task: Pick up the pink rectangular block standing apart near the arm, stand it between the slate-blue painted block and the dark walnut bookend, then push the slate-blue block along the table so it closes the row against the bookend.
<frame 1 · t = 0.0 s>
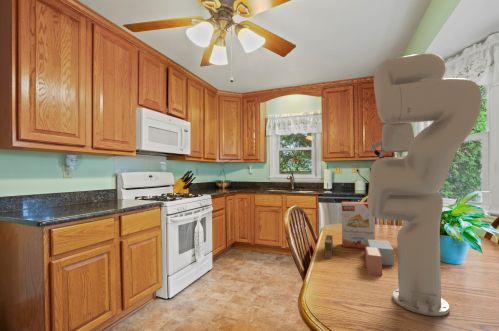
hand: (397, 167, 90), 37 cm above the table, tool pointing down, fingers open, 9 cm apart
slate block: (379, 251, 100), point 3 cm above the table, slide at 0.0 cm
skincare box: (419, 252, 109), on the table
cracker box: (358, 247, 117), on the table
pink rectangular block: (373, 269, 90), on the table
bookend: (329, 253, 107), on the table
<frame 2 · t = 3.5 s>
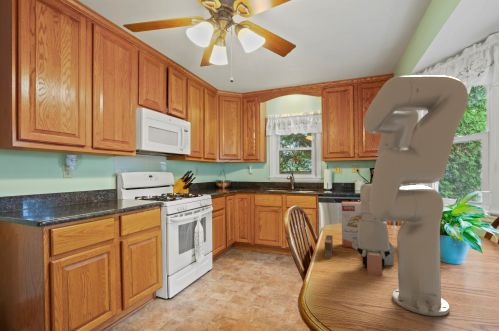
hand: (373, 267, 90), 1 cm above the table, tool pointing down, fingers closed on pink rectangular block, 4 cm apart
pink rectangular block: (373, 268, 90), on the table, touching gripper
everything else where it was.
when the fingers open (2 cm above the table, at t = 9.4 s): pink rectangular block drops 2 cm, on the table.
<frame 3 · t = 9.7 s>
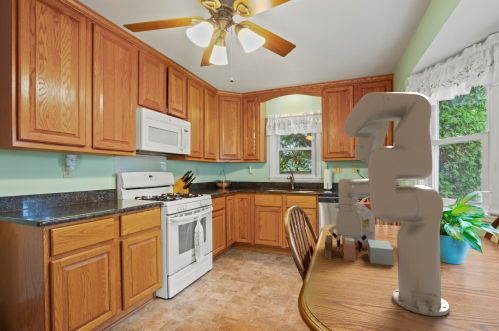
hand: (349, 249, 104), 3 cm above the table, tool pointing down, fingers open, 7 cm apart
pink rectangular block: (349, 256, 104), on the table
everything else where it was.
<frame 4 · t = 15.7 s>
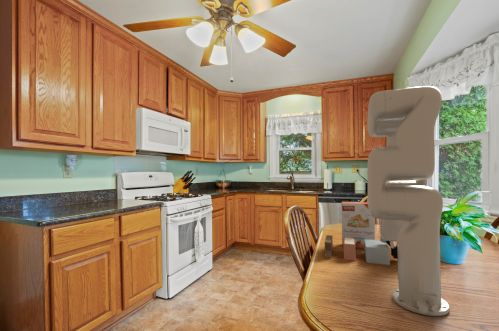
hand: (395, 257, 98), 1 cm above the table, tool pointing down, fingers closed
slate block: (376, 251, 101), point 3 cm above the table, slide at 1.4 cm, touching gripper
everything else where it was.
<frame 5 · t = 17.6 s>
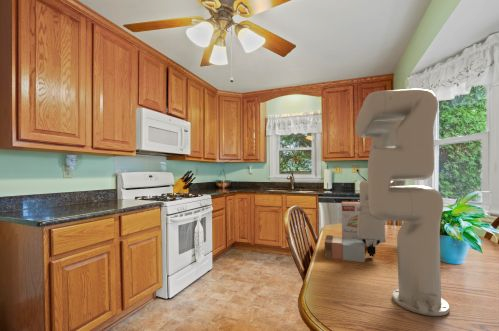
hand: (371, 255, 101), 1 cm above the table, tool pointing down, fingers closed
slate block: (353, 249, 104), point 3 cm above the table, slide at 10.0 cm, touching gripper
pink rectangular block: (337, 255, 106), on the table
everything else where it was.
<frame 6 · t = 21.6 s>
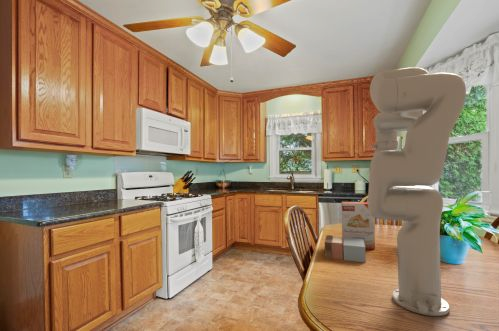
hand: (387, 192, 100), 27 cm above the table, tool pointing down, fingers closed
slate block: (353, 249, 104), point 3 cm above the table, slide at 9.7 cm
everything else where it was.
at the end: pink rectangular block inside the target area (0.8 cm from its centre), on the table; pink rectangular block tilted 0°; slate block slide at 9.7 cm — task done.
